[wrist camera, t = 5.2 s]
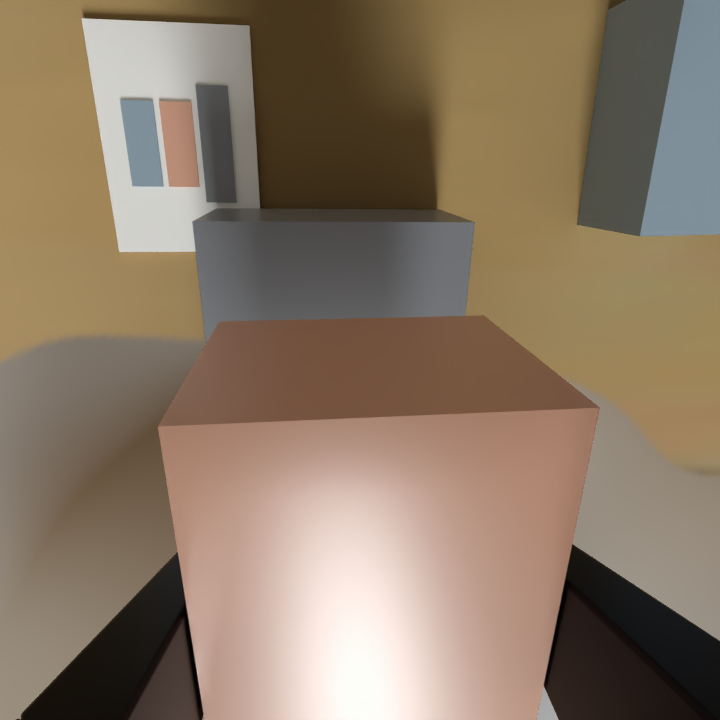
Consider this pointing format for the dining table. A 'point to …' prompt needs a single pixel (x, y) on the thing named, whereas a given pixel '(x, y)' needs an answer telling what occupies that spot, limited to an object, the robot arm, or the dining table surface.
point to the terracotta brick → (373, 517)
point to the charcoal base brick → (331, 264)
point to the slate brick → (656, 122)
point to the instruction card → (173, 125)
